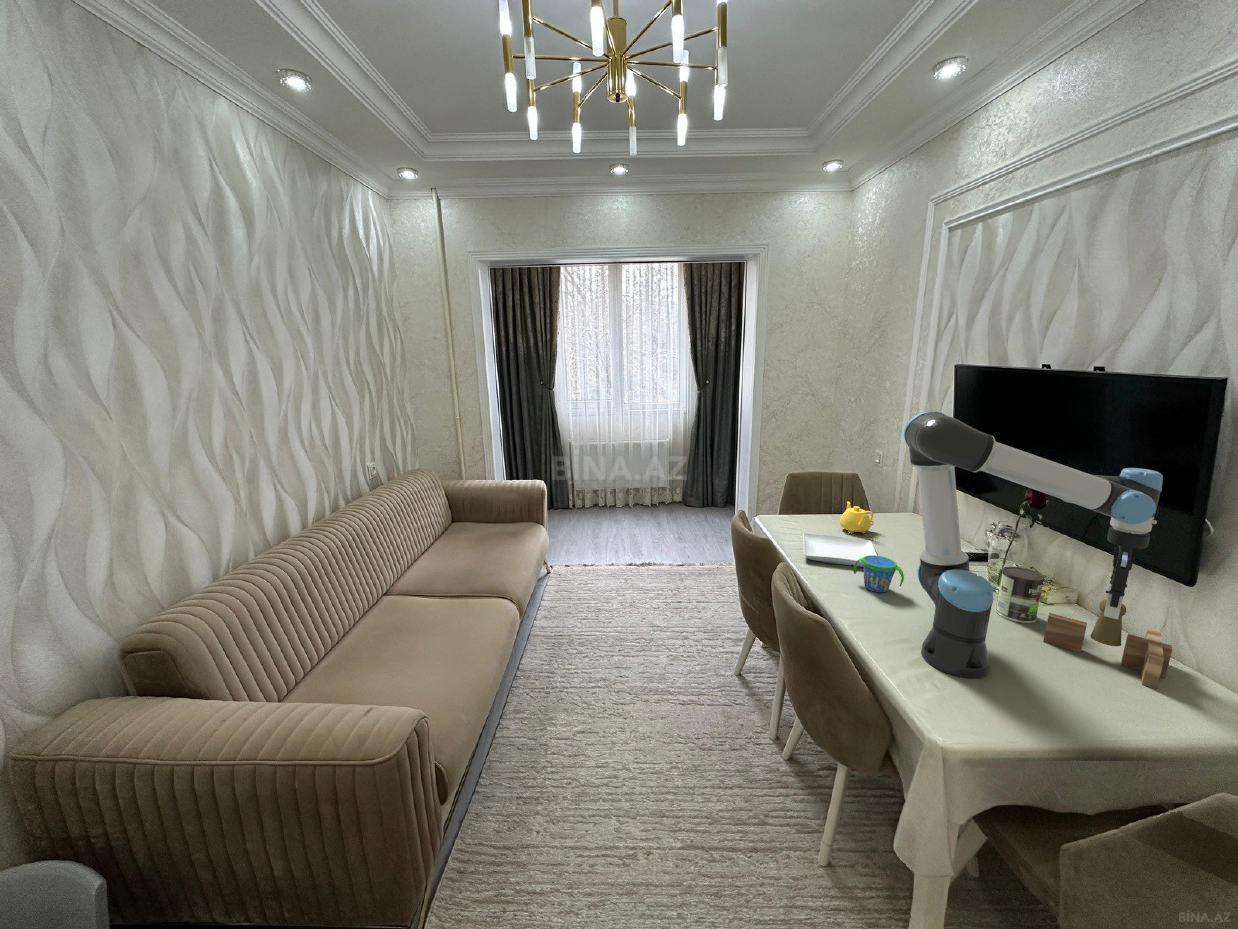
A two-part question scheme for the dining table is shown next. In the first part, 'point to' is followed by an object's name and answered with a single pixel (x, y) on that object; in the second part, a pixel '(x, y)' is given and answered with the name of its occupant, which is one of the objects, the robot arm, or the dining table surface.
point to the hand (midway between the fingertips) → (1111, 613)
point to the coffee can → (1019, 594)
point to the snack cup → (878, 572)
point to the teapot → (856, 519)
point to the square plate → (836, 549)
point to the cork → (1108, 627)
